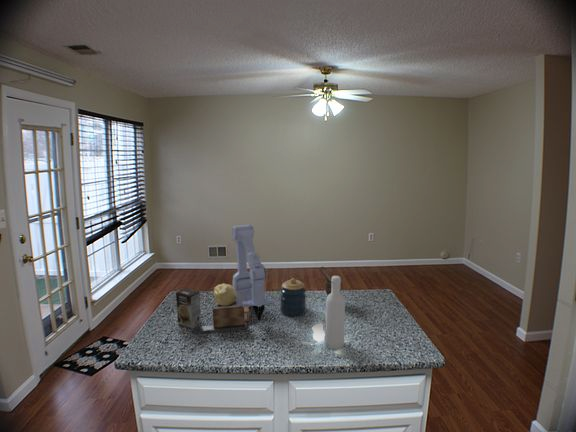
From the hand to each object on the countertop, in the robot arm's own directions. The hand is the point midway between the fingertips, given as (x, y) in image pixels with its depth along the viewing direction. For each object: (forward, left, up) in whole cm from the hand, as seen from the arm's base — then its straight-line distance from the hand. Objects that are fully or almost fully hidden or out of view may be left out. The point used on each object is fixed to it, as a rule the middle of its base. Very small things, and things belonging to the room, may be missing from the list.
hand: (258, 319), depth 157 cm
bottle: (-9, +36, -3) cm, 37 cm away
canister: (-21, +3, -3) cm, 22 cm away
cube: (0, -10, -3) cm, 11 cm away
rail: (+14, -11, -3) cm, 18 cm away
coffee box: (+20, -27, -3) cm, 33 cm away
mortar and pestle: (-40, +13, -3) cm, 43 cm away
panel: (+10, -9, -1) cm, 14 cm away
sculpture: (-5, -30, -3) cm, 31 cm away
